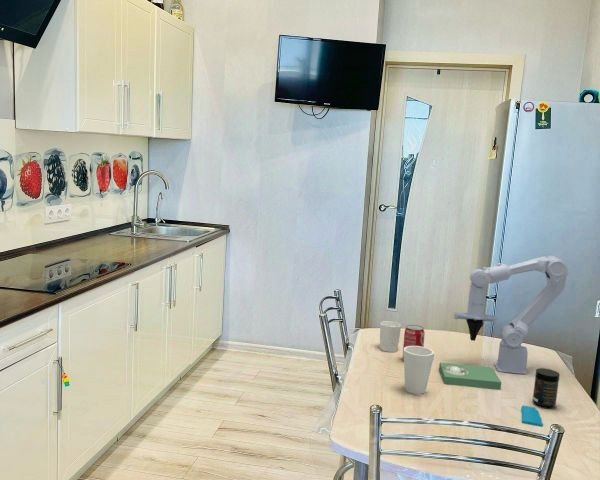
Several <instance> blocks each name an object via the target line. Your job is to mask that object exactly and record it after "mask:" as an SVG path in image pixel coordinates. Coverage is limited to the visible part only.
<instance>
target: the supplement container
mask: <svg viewBox="0 0 600 480" xmlns="http://www.w3.org/2000/svg"><path fill="white" fill-rule="evenodd" d="M534 375H535V377H534V385H533V394H532V403H533V404H534V405H535V406H537V407H539V408H542V409H548V410H549V409H554V408H555V407H556V405H557V396H558V389H559V382H560V376H561V375H560V372H559V371H557V370H554V369H550V368H543V367H539V368H537V369H536V370H535V374H534Z"/></svg>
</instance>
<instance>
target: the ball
mask: <svg viewBox="0 0 600 480" xmlns="http://www.w3.org/2000/svg"><path fill="white" fill-rule="evenodd" d="M449 371H450V372H453V373H461V370H460V368H458V367H456V366H454V367H451V368H450V370H449Z"/></svg>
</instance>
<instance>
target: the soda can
mask: <svg viewBox="0 0 600 480" xmlns="http://www.w3.org/2000/svg"><path fill="white" fill-rule="evenodd" d="M405 327H406V328H405V330H404V334H403V347H402V352H403V351H404V348H405V347H407V346H421V347H425V334H426V333H425V329H424V326H422V325H418V324H407V325H406V326H405ZM402 360H403V361H404V357H403V356H402Z"/></svg>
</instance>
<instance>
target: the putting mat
mask: <svg viewBox="0 0 600 480" xmlns="http://www.w3.org/2000/svg"><path fill="white" fill-rule="evenodd" d="M438 365H439V366H438V371H439V373H440V376H441V379H442V381H443V385H452V386H459V387H460V386H462V387H471V388H481V389H492V390H500V391H501V388H502V381H501V380H500V377H499V376H498V374H497V372H496V371H495V370H494V367H492V366H484V365H483V366H482V365H473V364H472V365H471V364H462V363H452V362H451V363H450V362H441V361H440V362H439V364H438ZM454 366H456V367H458V368H460V370H461V373H453V372H450V371H449V370H450V368H451V367H454Z"/></svg>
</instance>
